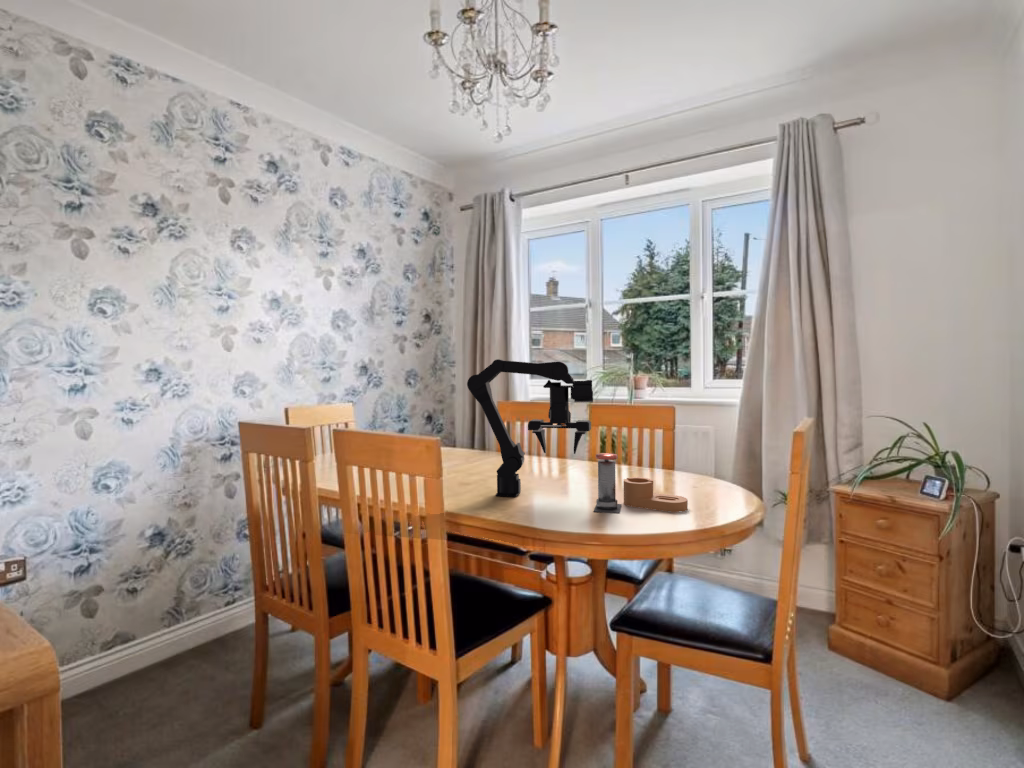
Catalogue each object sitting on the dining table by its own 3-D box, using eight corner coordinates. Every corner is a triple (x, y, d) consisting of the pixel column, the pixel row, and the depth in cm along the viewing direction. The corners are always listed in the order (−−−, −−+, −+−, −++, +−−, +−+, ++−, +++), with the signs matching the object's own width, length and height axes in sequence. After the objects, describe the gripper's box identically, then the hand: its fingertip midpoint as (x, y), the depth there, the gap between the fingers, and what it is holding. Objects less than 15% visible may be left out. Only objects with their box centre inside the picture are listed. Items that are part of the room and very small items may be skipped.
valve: (598, 510, 155) (598, 457, 154) (593, 505, 161) (593, 453, 160) (620, 509, 155) (620, 456, 154) (614, 504, 161) (614, 452, 160)
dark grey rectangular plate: (593, 511, 154) (593, 511, 154) (596, 503, 163) (596, 502, 163) (619, 513, 153) (619, 512, 153) (621, 504, 161) (621, 504, 161)
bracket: (619, 505, 161) (619, 481, 161) (629, 499, 168) (629, 476, 168) (682, 514, 152) (682, 488, 151) (690, 507, 159) (690, 482, 158)
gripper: (592, 400, 177) (593, 449, 178) (534, 400, 182) (535, 448, 183) (588, 403, 167) (589, 456, 167) (527, 403, 171) (527, 454, 172)
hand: (559, 453), depth 173 cm, fingers open, 9 cm apart
